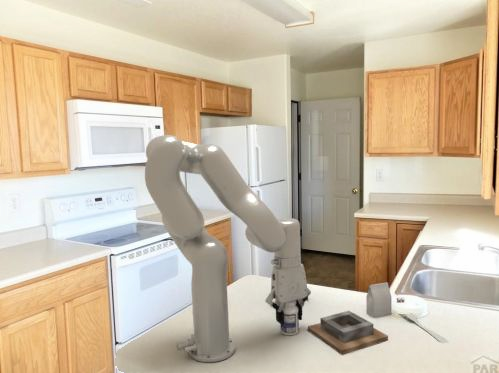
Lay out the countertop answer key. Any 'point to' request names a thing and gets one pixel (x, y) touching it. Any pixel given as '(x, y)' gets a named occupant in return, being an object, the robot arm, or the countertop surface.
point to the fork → (438, 337)
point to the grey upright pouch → (378, 300)
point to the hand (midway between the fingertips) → (289, 320)
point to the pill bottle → (290, 319)
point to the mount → (347, 332)
